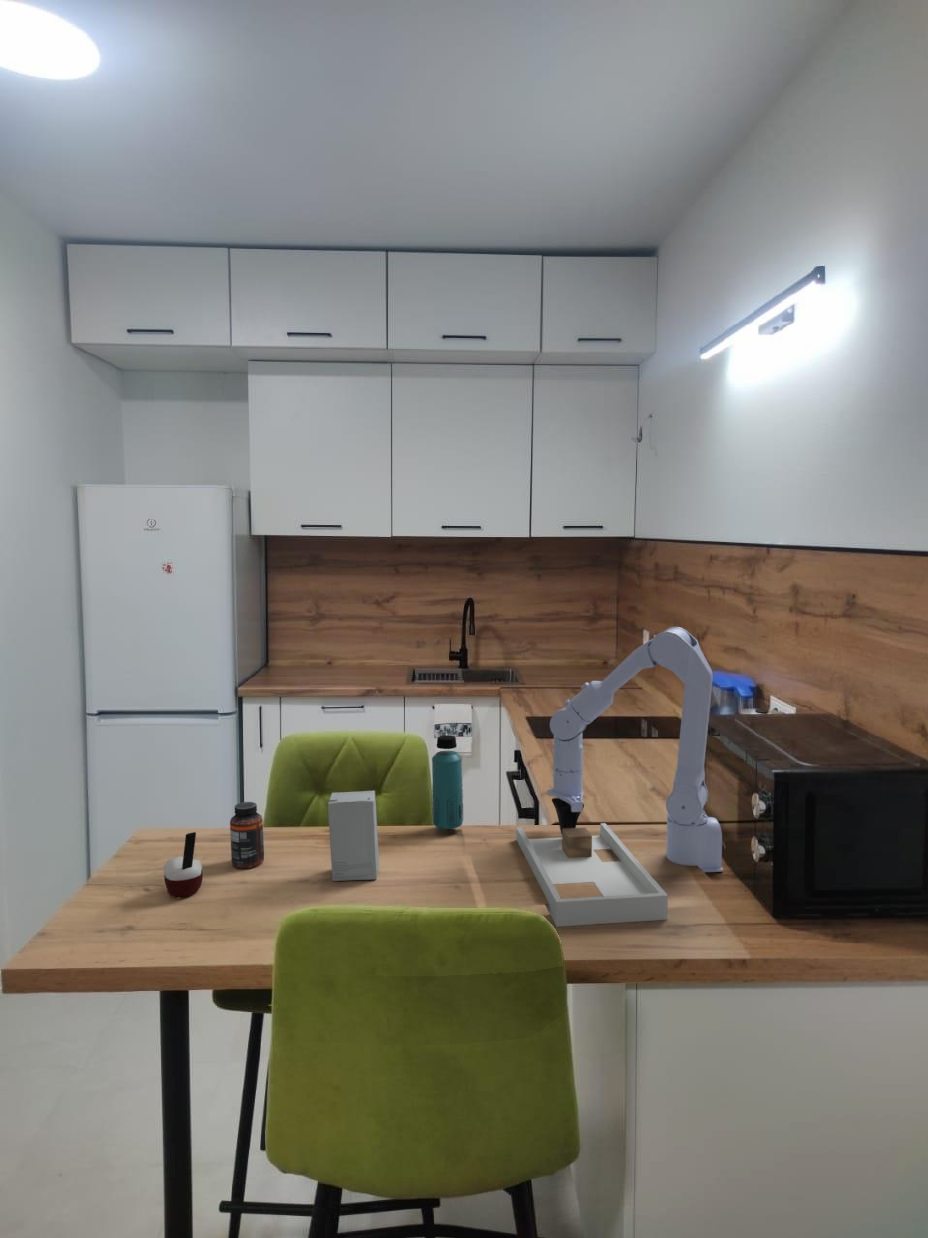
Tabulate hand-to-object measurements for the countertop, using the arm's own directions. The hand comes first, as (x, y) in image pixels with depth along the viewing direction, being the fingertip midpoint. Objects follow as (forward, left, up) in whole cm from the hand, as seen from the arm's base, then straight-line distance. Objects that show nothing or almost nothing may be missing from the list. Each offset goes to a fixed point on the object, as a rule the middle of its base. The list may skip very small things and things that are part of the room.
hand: (567, 835), depth 156 cm
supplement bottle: (+62, 0, -2) cm, 62 cm away
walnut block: (0, +7, -1) cm, 7 cm away
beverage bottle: (+23, -12, -2) cm, 26 cm away
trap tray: (+1, +15, -2) cm, 16 cm away
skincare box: (+42, +8, -2) cm, 42 cm away
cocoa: (+71, +12, -2) cm, 72 cm away
